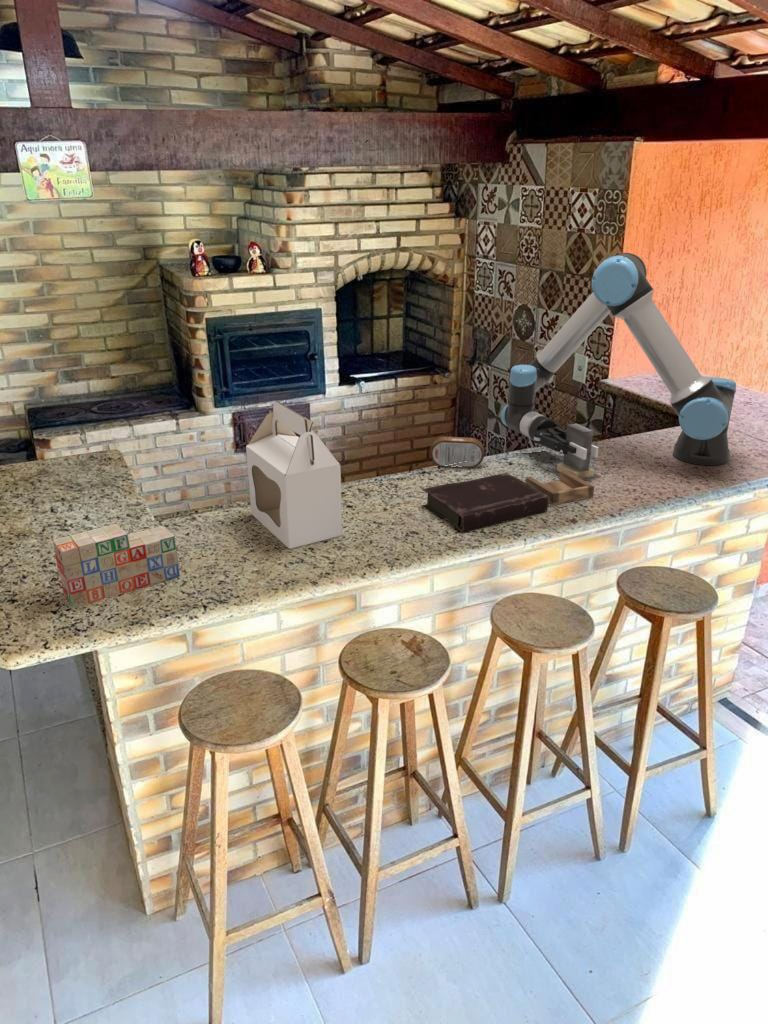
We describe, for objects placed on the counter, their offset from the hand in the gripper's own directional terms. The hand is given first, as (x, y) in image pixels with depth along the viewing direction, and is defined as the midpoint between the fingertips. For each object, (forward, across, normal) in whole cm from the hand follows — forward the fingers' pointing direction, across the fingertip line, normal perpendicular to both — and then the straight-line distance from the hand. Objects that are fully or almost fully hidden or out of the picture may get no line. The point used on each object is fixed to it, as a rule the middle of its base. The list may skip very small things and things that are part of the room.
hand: (591, 453), depth 198 cm
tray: (+4, +12, -8) cm, 15 cm away
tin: (-24, +26, -8) cm, 37 cm away
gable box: (-6, +79, -8) cm, 80 cm away
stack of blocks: (+7, +119, -8) cm, 120 cm away
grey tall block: (-5, 0, -8) cm, 9 cm away
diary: (+3, +34, -9) cm, 35 cm away
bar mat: (-5, 0, -8) cm, 10 cm away
